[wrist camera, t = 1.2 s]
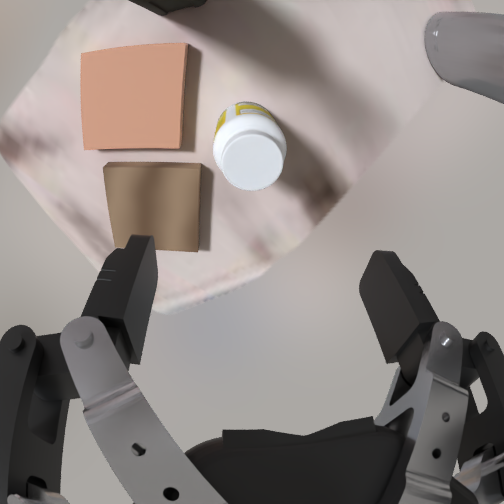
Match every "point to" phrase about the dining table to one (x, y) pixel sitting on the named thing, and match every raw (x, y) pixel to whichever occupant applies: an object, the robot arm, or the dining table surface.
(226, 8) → the dining table surface
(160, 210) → the walnut mat
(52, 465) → the robot arm
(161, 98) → the terracotta tile
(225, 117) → the supplement bottle
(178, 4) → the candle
